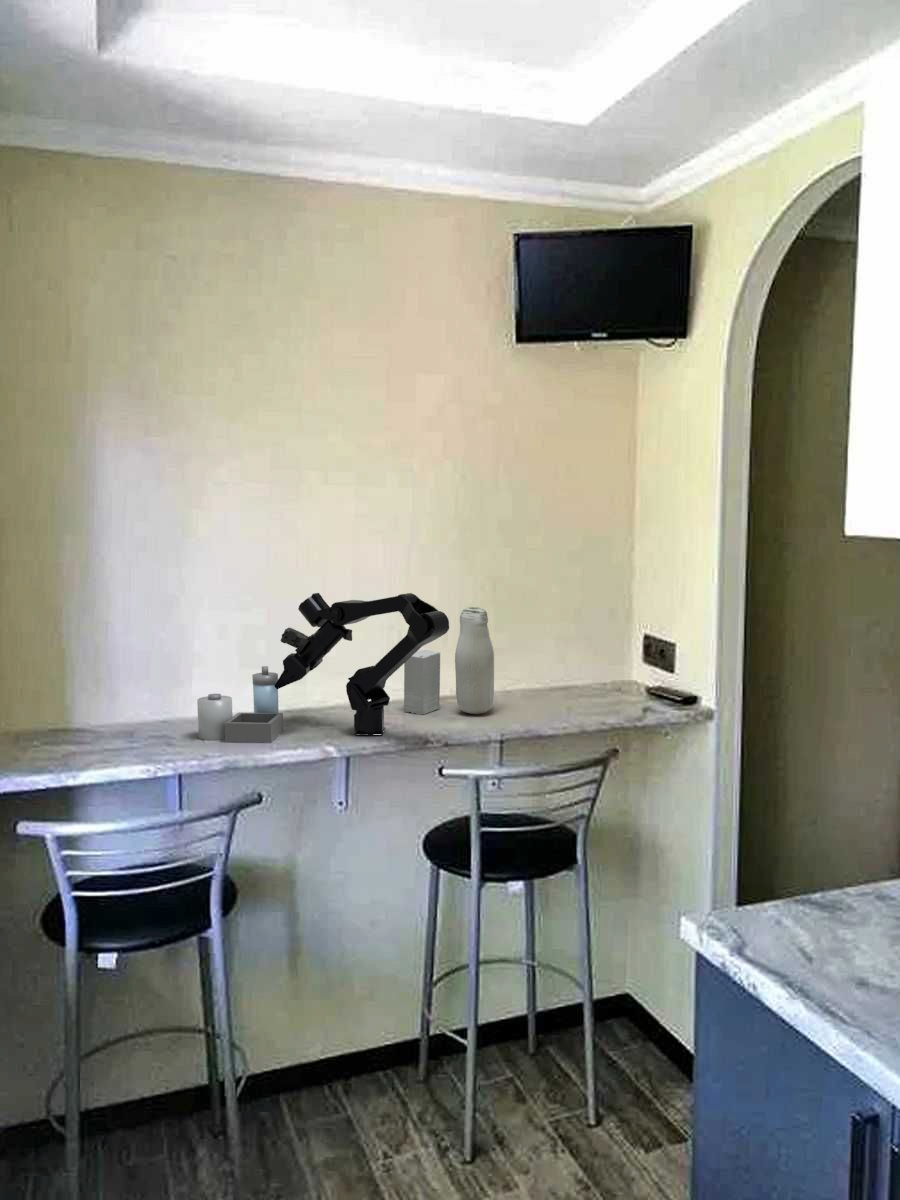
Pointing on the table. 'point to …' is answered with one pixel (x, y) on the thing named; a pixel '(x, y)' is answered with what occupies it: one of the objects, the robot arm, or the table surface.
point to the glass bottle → (474, 663)
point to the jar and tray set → (235, 722)
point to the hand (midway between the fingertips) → (280, 683)
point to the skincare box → (422, 682)
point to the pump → (265, 691)
